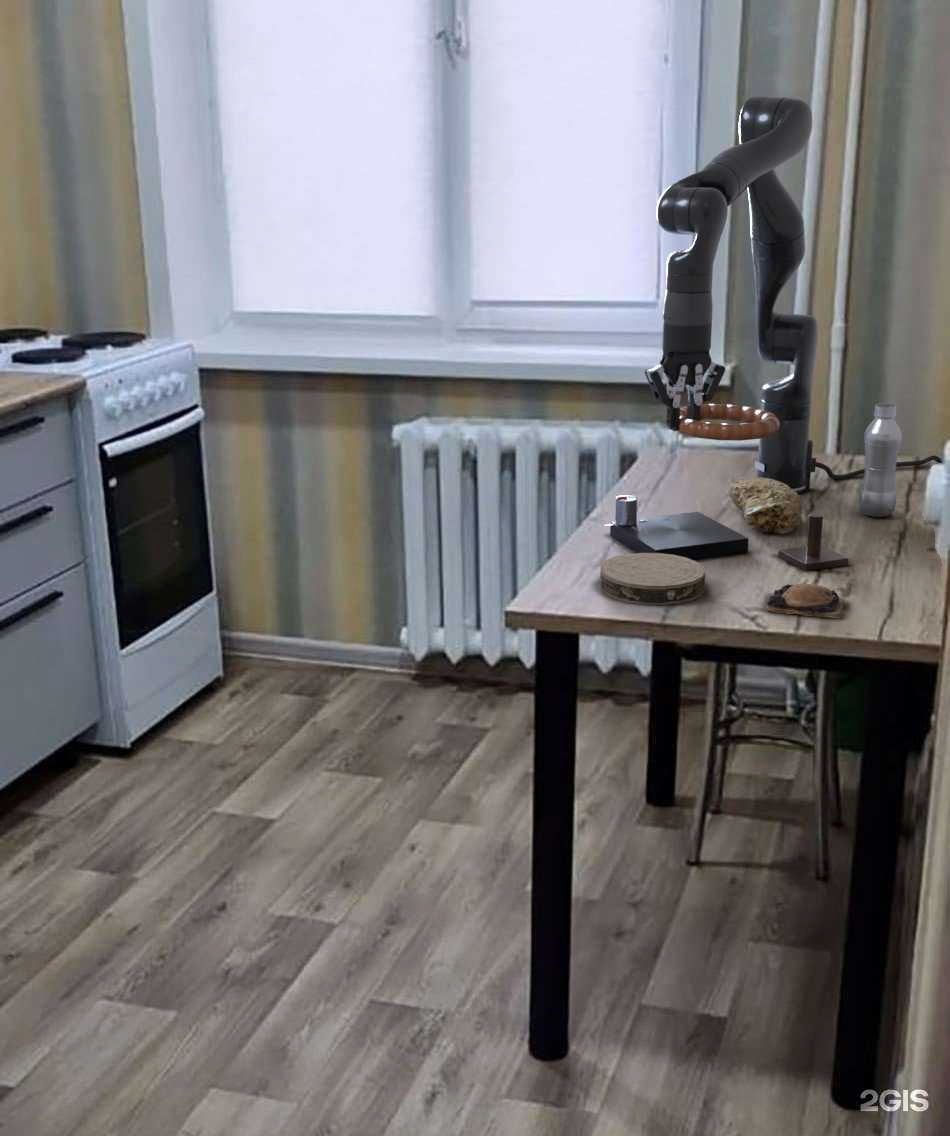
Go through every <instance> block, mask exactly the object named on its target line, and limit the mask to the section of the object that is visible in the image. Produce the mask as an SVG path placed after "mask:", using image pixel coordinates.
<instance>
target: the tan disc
mask: <svg viewBox="0 0 950 1136" xmlns="http://www.w3.org/2000/svg"><path fill="white" fill-rule="evenodd" d="M599 576H600V579H599V582H600V583H599V587H600V588H599V589H600V590H601V591H602V592H603V594H605V596H608V597H611V598H612V599H615V600H617V601H621V602H626V603H630V604H637V605H645V606H669V605H677V604H683V603H687V602H691V601H694V600H696V599H698V598H700V597H701V596H702V595H703V594H704V592H705V583H706V570H705V567H704V565H702V564H701V563H700V562H698V561H696V560H691V559H689V558H686V557H681V556H677V555H671V554H662V553H637V552H635V553H626V554H621V555H616V556H613V557H611V558H608V559H606V560H604V561H603V562H602V563H601V564H600V575H599Z"/></svg>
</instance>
